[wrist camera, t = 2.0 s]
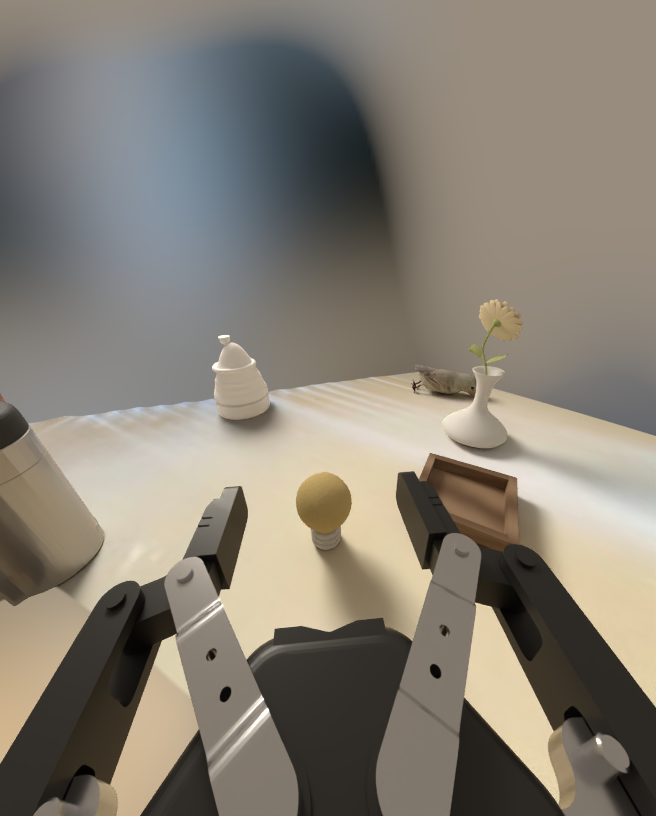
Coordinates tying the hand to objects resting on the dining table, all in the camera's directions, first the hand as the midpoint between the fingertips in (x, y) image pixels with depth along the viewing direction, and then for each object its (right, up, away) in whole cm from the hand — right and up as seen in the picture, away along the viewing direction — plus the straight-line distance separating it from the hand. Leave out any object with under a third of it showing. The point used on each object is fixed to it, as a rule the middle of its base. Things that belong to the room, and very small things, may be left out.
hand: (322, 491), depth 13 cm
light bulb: (0, -13, +20) cm, 24 cm away
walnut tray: (+19, -10, +24) cm, 32 cm away
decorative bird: (+31, +8, +56) cm, 64 cm away
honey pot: (-21, +4, +54) cm, 58 cm away
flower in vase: (+29, -1, +39) cm, 49 cm away
